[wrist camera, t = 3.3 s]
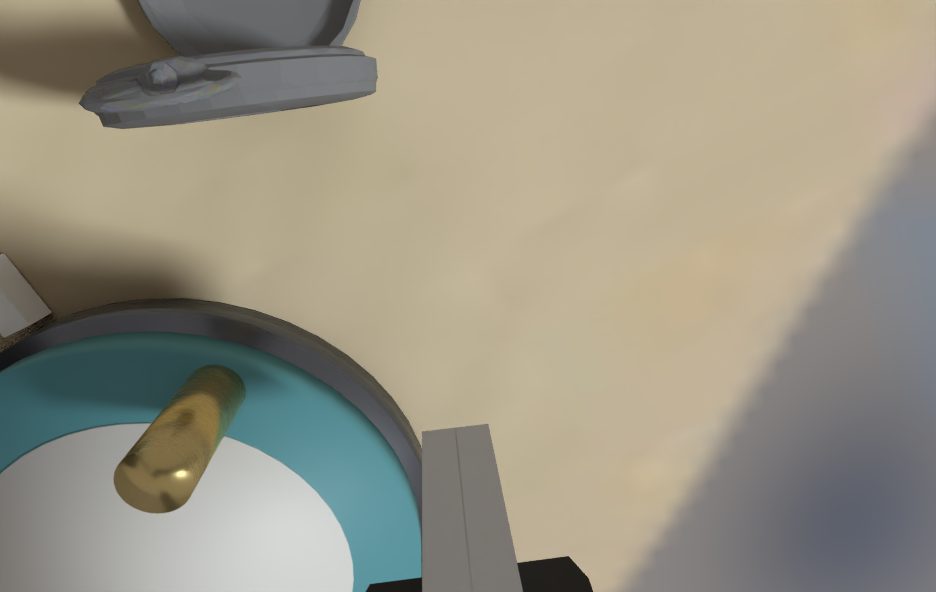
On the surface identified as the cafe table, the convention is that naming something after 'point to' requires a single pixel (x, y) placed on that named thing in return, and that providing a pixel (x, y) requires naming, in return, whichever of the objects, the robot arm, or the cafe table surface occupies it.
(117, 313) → the turntable base
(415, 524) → the turntable
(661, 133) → the cafe table surface
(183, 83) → the pocket watch
